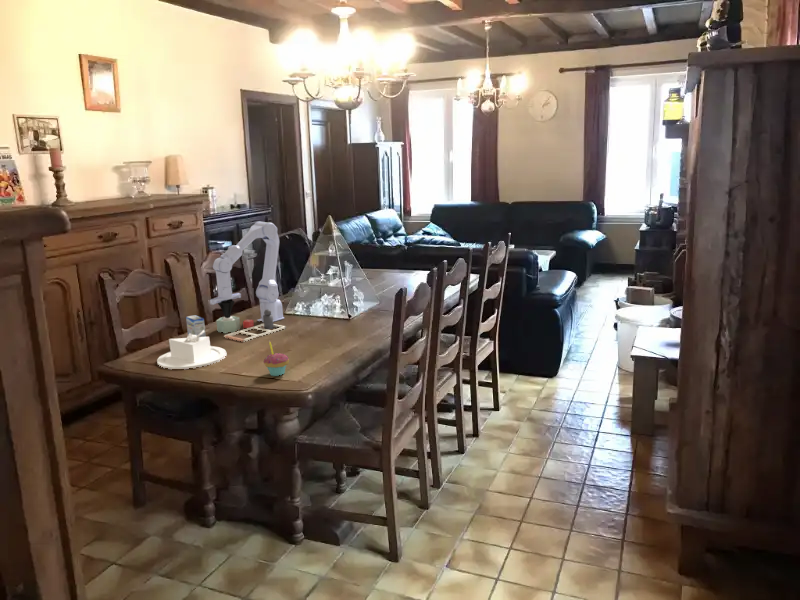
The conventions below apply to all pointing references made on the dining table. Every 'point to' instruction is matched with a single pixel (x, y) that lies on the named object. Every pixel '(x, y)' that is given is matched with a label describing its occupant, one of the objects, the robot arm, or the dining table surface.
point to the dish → (191, 353)
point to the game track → (252, 333)
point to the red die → (248, 323)
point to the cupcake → (276, 362)
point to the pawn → (268, 320)
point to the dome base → (228, 325)
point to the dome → (228, 319)
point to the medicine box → (195, 325)
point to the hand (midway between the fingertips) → (227, 317)
